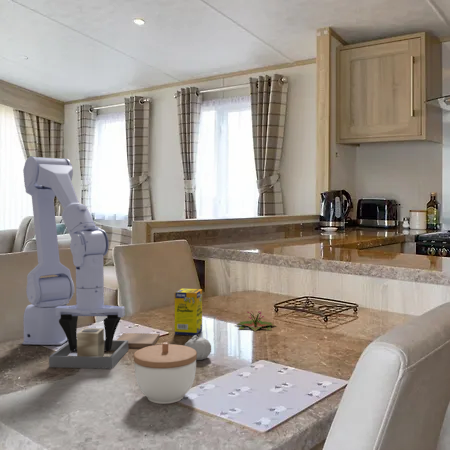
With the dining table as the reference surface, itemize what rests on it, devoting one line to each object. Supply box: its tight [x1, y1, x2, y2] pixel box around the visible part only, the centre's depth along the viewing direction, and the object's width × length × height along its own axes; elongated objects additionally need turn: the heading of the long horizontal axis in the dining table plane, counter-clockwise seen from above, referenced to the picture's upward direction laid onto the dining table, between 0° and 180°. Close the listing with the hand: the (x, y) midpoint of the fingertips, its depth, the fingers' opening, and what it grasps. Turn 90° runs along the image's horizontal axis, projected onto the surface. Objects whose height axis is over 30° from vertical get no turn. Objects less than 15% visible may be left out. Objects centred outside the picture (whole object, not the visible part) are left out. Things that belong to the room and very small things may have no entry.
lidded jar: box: [133, 341, 197, 405], centre depth 88 cm, size 11×11×9 cm
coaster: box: [116, 332, 160, 349], centre depth 123 cm, size 9×9×1 cm
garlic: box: [183, 334, 212, 361], centre depth 110 cm, size 6×5×5 cm
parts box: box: [76, 327, 105, 357], centre depth 111 cm, size 4×4×6 cm
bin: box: [48, 339, 129, 369], centre depth 111 cm, size 13×13×2 cm
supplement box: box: [173, 288, 203, 337], centre depth 132 cm, size 6×6×11 cm
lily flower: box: [236, 310, 278, 332], centre depth 139 cm, size 12×12×5 cm
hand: (90, 349), depth 111 cm, fingers open, 7 cm apart
